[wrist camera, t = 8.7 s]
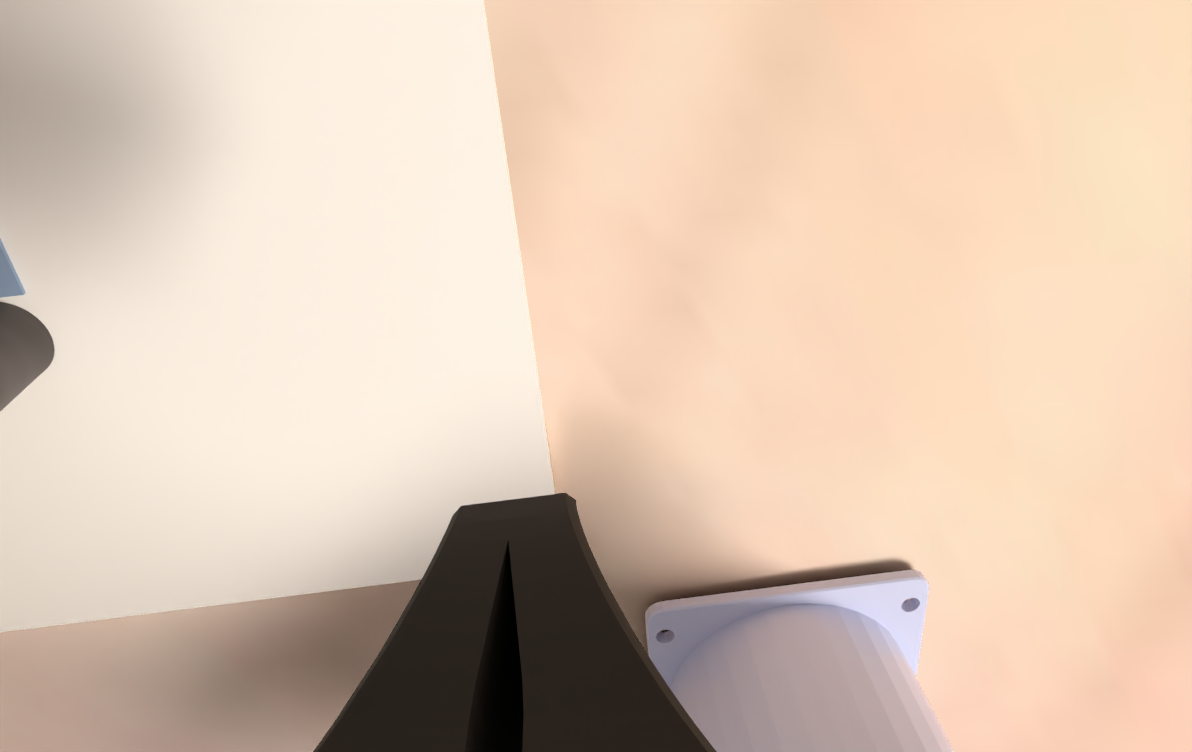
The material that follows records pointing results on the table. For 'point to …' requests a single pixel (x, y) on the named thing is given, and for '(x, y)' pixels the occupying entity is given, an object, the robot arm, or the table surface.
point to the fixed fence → (21, 351)
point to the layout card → (254, 300)
